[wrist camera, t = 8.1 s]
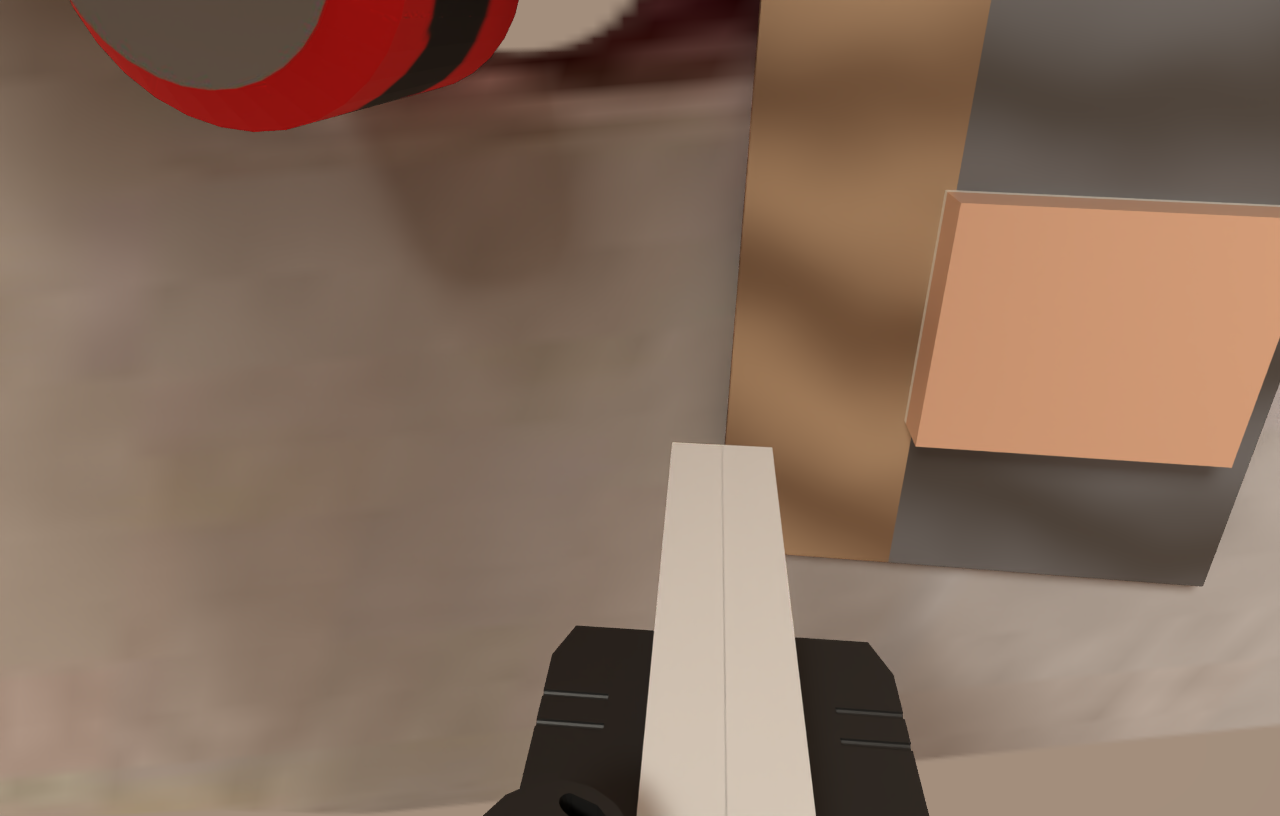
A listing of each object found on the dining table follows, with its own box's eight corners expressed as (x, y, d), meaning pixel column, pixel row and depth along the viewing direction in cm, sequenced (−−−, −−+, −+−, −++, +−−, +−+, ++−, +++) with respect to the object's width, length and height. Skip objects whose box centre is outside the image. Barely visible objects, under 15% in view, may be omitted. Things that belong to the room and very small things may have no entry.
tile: (960, 203, 25) (1322, 220, 24) (945, 190, 27) (1281, 205, 26) (915, 446, 28) (1231, 467, 28) (904, 420, 30) (1200, 439, 29)
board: (762, -30, 26) (763, -32, 25) (1398, -13, 24) (1428, -14, 23) (717, 531, 34) (717, 549, 33) (1186, 567, 33) (1202, 586, 32)
